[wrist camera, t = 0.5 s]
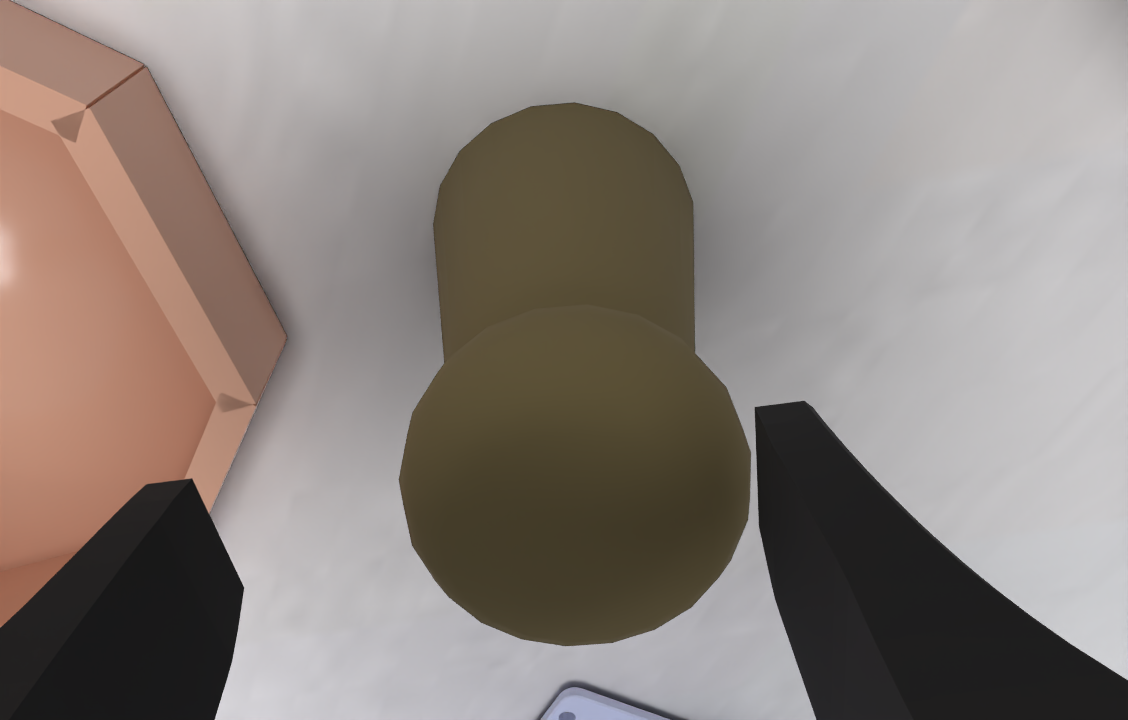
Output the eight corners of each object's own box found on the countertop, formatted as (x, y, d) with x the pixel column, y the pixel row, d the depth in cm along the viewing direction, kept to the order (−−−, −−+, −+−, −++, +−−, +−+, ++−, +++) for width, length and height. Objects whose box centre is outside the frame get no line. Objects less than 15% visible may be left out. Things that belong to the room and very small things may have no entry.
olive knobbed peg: (676, 352, 24) (760, 716, 15) (432, 338, 24) (360, 701, 15) (713, 112, 21) (849, 379, 12) (434, 93, 21) (343, 350, 11)
